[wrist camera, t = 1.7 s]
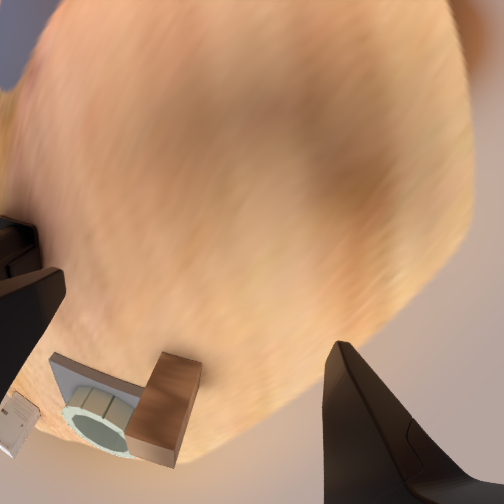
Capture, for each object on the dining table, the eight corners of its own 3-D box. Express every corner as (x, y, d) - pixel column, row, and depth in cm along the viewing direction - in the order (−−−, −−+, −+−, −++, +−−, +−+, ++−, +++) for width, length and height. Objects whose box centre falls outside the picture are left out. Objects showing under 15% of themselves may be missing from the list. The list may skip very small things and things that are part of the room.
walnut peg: (162, 377, 29) (129, 454, 20) (162, 352, 27) (123, 434, 18) (198, 387, 29) (174, 468, 20) (202, 362, 27) (173, 450, 18)
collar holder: (75, 412, 36) (62, 434, 32) (54, 352, 30) (34, 378, 26) (170, 447, 36) (162, 475, 32) (170, 396, 30) (157, 431, 26)
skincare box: (39, 407, 39) (10, 453, 28) (41, 417, 41) (15, 460, 30) (14, 389, 39) (-16, 432, 28) (17, 400, 41) (-10, 440, 30)
